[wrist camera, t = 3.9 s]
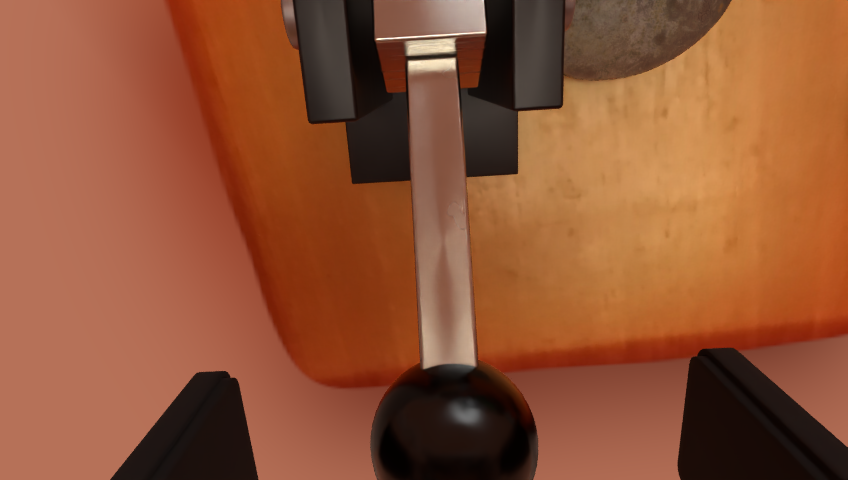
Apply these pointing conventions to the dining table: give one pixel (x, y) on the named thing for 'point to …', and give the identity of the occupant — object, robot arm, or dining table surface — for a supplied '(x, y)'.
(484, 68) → the bracket
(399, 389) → the lever
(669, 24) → the soupspoon
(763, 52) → the dining table surface
